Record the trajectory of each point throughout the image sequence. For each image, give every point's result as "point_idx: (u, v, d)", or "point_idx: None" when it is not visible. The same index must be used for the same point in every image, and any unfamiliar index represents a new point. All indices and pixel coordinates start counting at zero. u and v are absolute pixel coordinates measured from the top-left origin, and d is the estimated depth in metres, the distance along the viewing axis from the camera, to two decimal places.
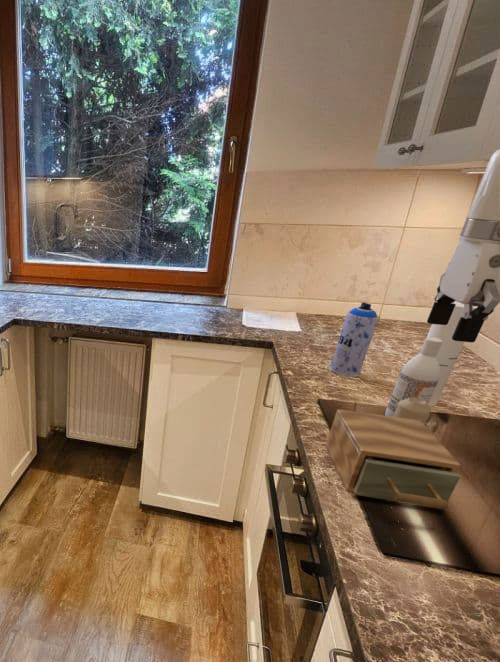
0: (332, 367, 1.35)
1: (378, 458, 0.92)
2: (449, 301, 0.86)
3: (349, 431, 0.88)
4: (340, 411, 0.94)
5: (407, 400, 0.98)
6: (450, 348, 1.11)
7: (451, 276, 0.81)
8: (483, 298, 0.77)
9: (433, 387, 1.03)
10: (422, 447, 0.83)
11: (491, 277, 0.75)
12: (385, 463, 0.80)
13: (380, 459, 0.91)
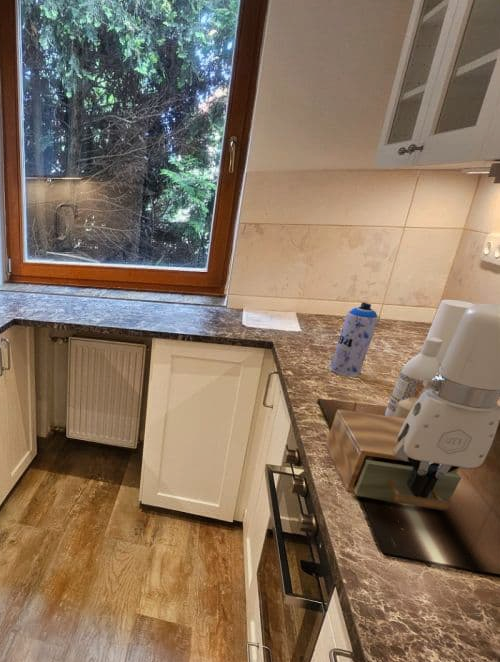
0: (332, 367, 1.35)
1: (378, 459, 0.91)
2: (430, 471, 0.74)
3: (349, 431, 0.88)
4: (340, 411, 0.94)
5: (407, 400, 0.98)
6: None
7: None
8: None
9: None
10: None
11: (409, 423, 0.72)
12: (386, 464, 0.80)
13: (380, 460, 0.91)
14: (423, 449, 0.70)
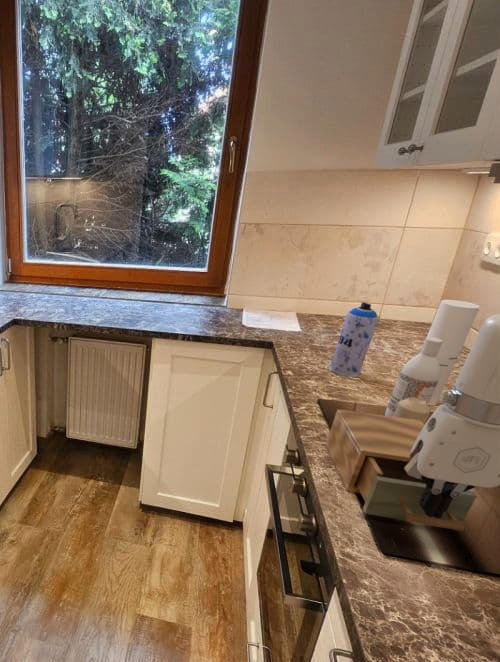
0: (332, 367, 1.35)
1: (388, 473, 0.87)
2: (445, 490, 0.70)
3: (349, 431, 0.88)
4: (340, 411, 0.94)
5: (407, 400, 0.98)
6: (450, 348, 1.11)
7: None
8: None
9: (433, 387, 1.03)
10: None
11: (423, 439, 0.68)
12: (396, 481, 0.75)
13: (390, 475, 0.87)
14: (438, 467, 0.66)
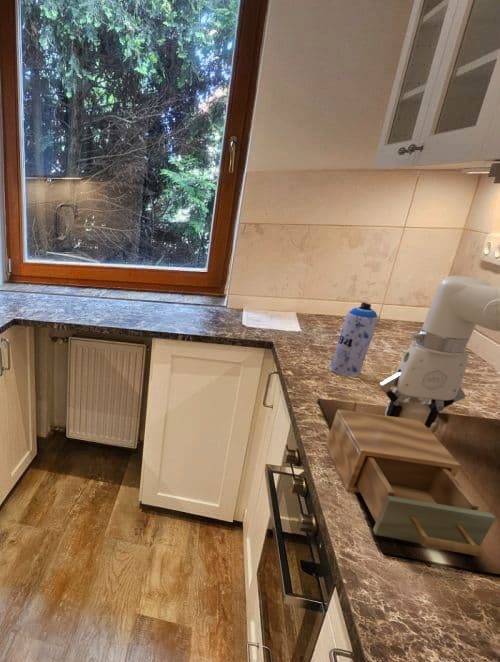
0: (332, 367, 1.35)
1: (398, 490, 0.83)
2: (432, 406, 0.97)
3: (349, 431, 0.88)
4: (340, 411, 0.94)
5: (407, 400, 0.98)
6: None
7: None
8: None
9: None
10: (422, 447, 0.83)
11: (401, 368, 0.95)
12: (409, 501, 0.71)
13: (400, 492, 0.82)
14: (411, 387, 0.94)
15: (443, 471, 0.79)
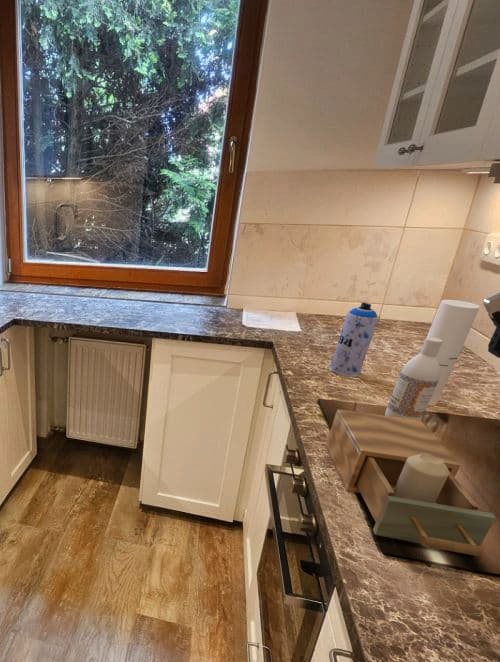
0: (332, 367, 1.35)
1: None
2: None
3: (349, 431, 0.88)
4: (340, 411, 0.94)
5: (418, 457, 0.75)
6: (450, 348, 1.11)
7: None
8: None
9: (433, 387, 1.03)
10: (422, 447, 0.83)
11: None
12: (410, 501, 0.71)
13: None
14: None
15: None
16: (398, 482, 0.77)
